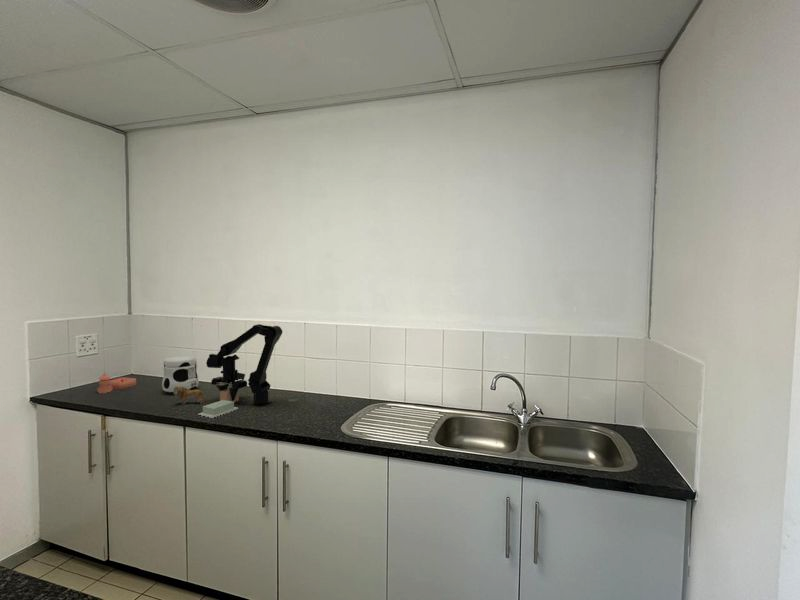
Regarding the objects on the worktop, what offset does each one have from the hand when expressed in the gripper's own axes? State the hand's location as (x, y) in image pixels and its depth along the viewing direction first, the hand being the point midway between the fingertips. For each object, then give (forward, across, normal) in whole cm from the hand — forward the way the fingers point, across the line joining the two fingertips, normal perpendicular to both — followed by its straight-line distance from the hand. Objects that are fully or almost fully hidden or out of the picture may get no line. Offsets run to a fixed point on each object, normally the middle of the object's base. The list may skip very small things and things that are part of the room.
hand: (229, 399), depth 194 cm
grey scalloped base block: (+1, -8, +13) cm, 15 cm away
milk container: (+1, +39, -2) cm, 39 cm away
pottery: (+2, +74, +12) cm, 75 cm away
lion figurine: (+2, +15, +10) cm, 18 cm away
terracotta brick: (+1, 0, 0) cm, 1 cm away
